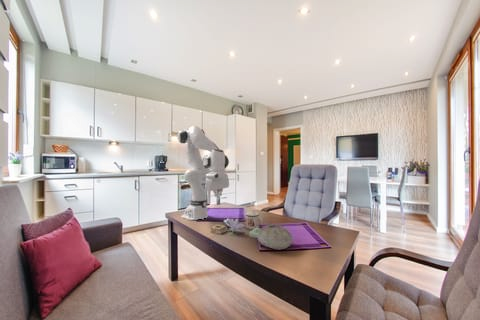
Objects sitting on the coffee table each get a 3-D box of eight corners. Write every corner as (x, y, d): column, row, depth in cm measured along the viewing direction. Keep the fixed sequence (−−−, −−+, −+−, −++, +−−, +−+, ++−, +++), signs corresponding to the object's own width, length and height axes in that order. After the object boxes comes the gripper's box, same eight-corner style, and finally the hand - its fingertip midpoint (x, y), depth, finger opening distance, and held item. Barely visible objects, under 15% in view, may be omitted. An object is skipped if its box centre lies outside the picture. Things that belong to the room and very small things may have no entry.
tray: (249, 236, 116) (249, 232, 116) (255, 231, 123) (255, 227, 123) (263, 239, 111) (263, 235, 111) (269, 234, 119) (269, 230, 119)
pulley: (221, 227, 132) (221, 219, 132) (227, 225, 138) (227, 217, 138) (230, 229, 128) (230, 221, 128) (235, 226, 134) (235, 218, 134)
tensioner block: (210, 232, 124) (210, 227, 124) (217, 228, 130) (217, 224, 130) (219, 234, 120) (219, 229, 120) (226, 230, 126) (226, 226, 126)
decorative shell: (297, 244, 104) (297, 225, 104) (284, 257, 90) (284, 235, 90) (267, 237, 114) (266, 220, 115) (251, 248, 100) (251, 228, 100)
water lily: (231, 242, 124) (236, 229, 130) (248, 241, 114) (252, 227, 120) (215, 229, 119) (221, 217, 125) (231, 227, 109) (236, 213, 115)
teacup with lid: (243, 227, 132) (243, 210, 132) (250, 224, 139) (250, 207, 139) (258, 231, 124) (258, 212, 125) (265, 227, 132) (265, 210, 132)
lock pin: (214, 204, 125) (214, 188, 125) (217, 203, 128) (217, 188, 128) (218, 205, 123) (218, 189, 123) (222, 204, 126) (222, 188, 126)
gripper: (223, 173, 136) (223, 193, 136) (203, 175, 118) (203, 198, 118) (231, 173, 133) (231, 194, 133) (211, 175, 115) (211, 199, 115)
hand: (218, 196), depth 125 cm, fingers closed on lock pin, 2 cm apart
